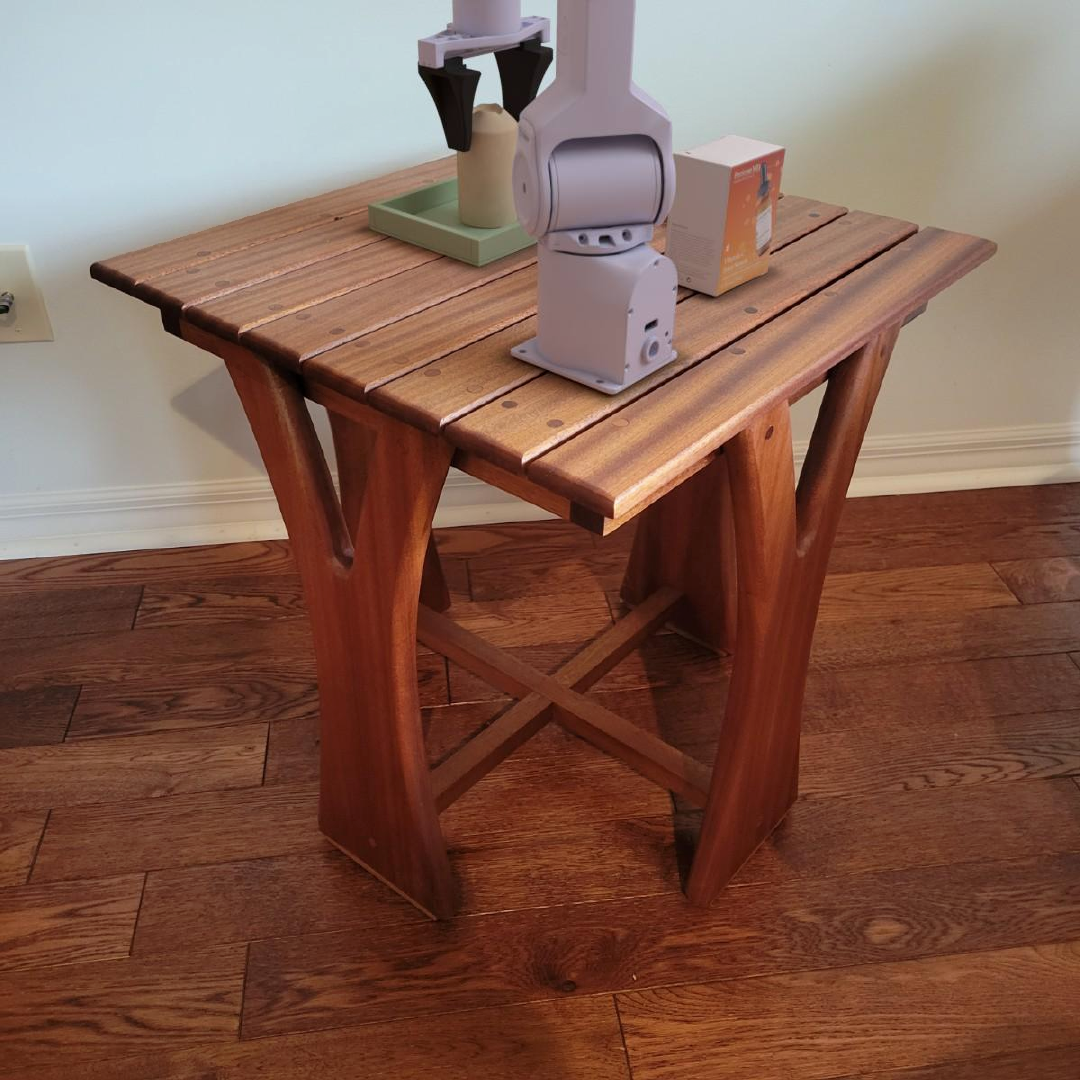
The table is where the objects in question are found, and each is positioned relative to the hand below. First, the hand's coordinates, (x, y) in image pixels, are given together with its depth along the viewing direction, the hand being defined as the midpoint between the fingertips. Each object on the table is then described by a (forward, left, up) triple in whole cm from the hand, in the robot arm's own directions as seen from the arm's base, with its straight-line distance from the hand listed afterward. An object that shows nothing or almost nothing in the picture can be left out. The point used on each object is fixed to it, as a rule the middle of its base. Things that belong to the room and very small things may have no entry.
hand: (488, 140), depth 98 cm
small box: (-23, -3, -8) cm, 24 cm away
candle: (0, 0, -7) cm, 7 cm away
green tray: (0, 0, -7) cm, 7 cm away
